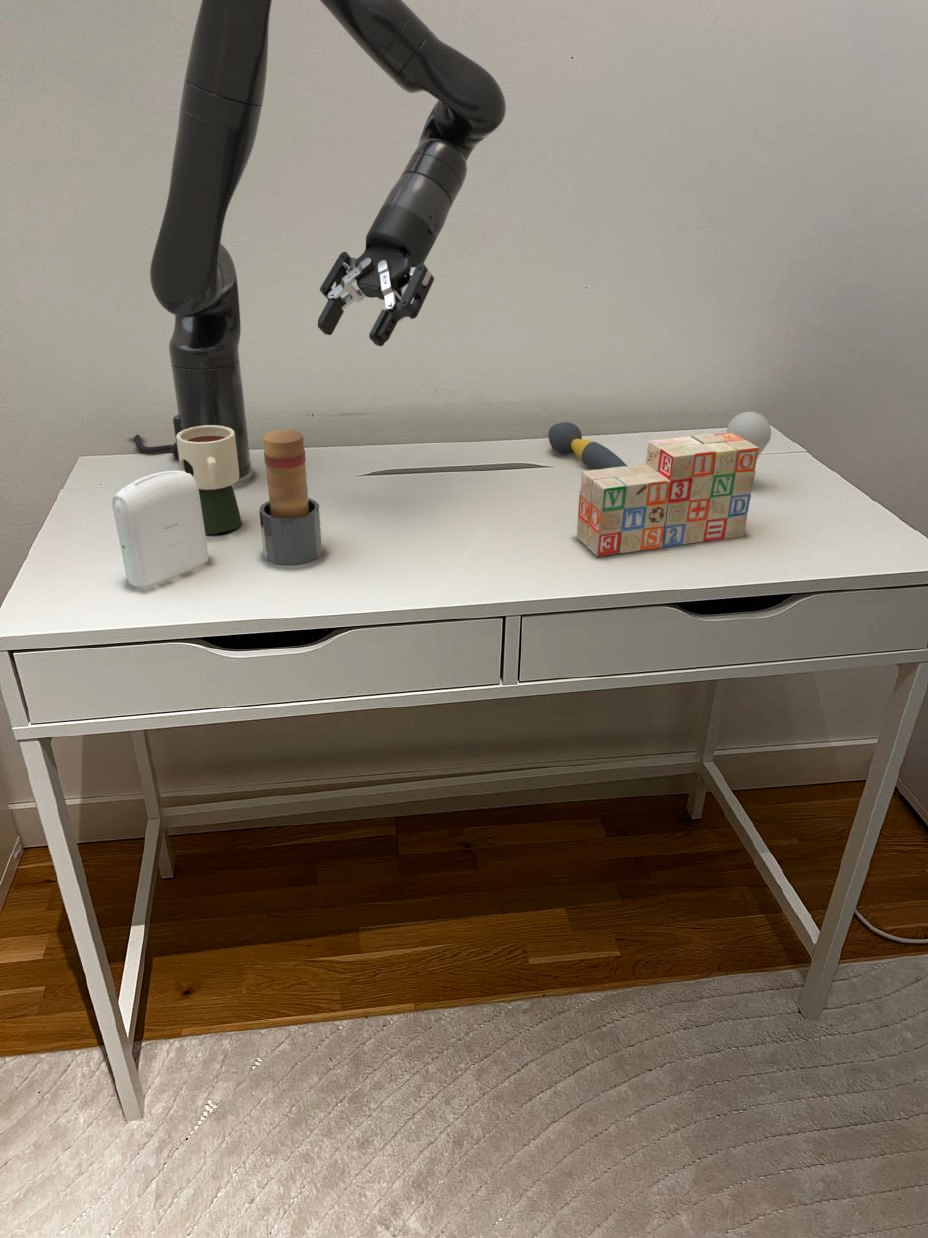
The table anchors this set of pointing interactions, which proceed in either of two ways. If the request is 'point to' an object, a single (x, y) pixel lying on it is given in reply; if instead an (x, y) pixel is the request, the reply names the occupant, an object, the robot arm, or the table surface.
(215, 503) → the character mug
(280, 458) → the red-banded tan cylinder
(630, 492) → the stack of blocks
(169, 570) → the photo printer
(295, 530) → the cup
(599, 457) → the wand massager
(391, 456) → the table surface
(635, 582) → the table surface
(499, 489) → the table surface
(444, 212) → the robot arm
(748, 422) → the lightbulb
